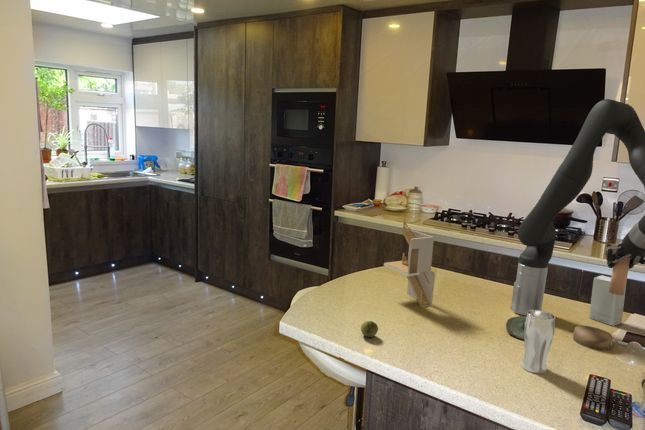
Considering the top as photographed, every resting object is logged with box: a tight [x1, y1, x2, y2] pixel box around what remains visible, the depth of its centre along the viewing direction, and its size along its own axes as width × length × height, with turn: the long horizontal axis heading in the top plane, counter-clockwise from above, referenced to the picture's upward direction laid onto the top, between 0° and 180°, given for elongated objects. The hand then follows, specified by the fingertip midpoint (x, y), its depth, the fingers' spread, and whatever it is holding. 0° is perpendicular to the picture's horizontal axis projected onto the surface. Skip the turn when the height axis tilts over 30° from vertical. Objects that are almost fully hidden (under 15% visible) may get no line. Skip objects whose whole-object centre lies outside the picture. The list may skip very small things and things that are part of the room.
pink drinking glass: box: [609, 256, 631, 295], centre depth 141 cm, size 4×4×12 cm
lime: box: [360, 320, 379, 338], centre depth 134 cm, size 4×5×5 cm
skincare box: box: [588, 274, 628, 327], centre depth 154 cm, size 8×6×15 cm
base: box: [572, 325, 614, 351], centre depth 138 cm, size 10×10×3 cm
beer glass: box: [520, 309, 556, 374], centre depth 119 cm, size 7×7×15 cm
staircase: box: [383, 219, 436, 308], centre depth 163 cm, size 10×16×29 cm, turn 30°
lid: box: [505, 315, 527, 341], centre depth 141 cm, size 11×10×5 cm
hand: (617, 266), depth 142 cm, fingers closed on pink drinking glass, 4 cm apart
